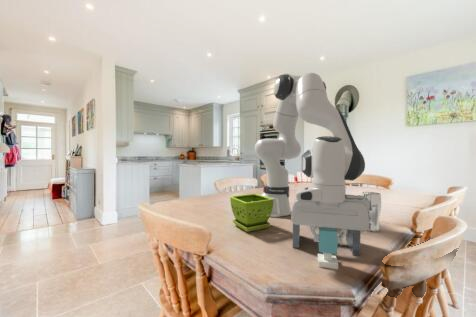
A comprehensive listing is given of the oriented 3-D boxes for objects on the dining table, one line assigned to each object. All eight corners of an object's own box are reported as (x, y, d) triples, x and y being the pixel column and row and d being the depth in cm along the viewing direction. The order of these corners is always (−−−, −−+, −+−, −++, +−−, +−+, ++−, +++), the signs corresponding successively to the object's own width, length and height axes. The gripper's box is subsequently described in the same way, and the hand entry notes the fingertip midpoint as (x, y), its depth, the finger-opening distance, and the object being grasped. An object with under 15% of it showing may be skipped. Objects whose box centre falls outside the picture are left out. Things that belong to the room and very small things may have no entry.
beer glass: (382, 229, 91) (383, 193, 91) (378, 233, 86) (379, 195, 86) (364, 225, 96) (364, 191, 96) (359, 229, 91) (359, 193, 91)
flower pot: (229, 224, 96) (229, 196, 96) (255, 220, 103) (255, 193, 103) (245, 235, 84) (245, 202, 84) (274, 229, 91) (274, 198, 91)
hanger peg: (318, 266, 61) (318, 230, 60) (317, 258, 66) (317, 225, 65) (338, 269, 59) (338, 232, 59) (335, 260, 64) (336, 226, 64)
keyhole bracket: (292, 247, 73) (292, 217, 73) (294, 234, 84) (294, 209, 84) (360, 255, 67) (360, 223, 67) (352, 241, 79) (352, 213, 78)
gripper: (366, 193, 62) (365, 242, 62) (292, 190, 68) (291, 234, 68) (373, 198, 56) (372, 251, 56) (290, 193, 62) (290, 242, 62)
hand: (327, 242), depth 62 cm, fingers closed on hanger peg, 4 cm apart
